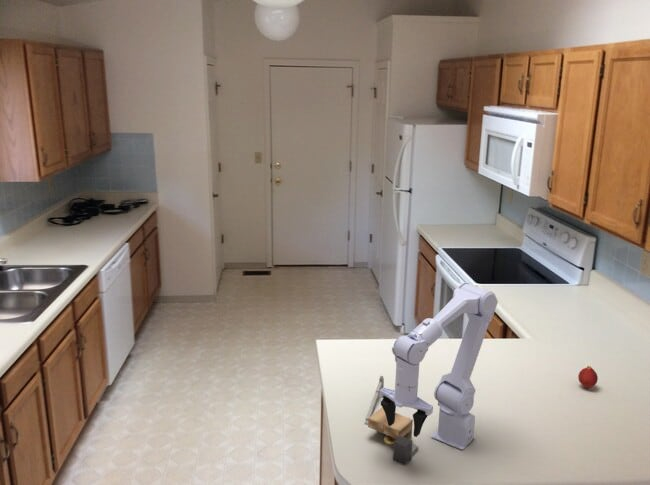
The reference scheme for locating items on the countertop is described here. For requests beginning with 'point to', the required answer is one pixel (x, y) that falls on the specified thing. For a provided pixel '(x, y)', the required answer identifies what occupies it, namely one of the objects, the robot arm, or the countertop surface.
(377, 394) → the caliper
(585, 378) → the onion
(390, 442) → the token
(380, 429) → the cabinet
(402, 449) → the dark grey block
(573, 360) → the countertop surface
